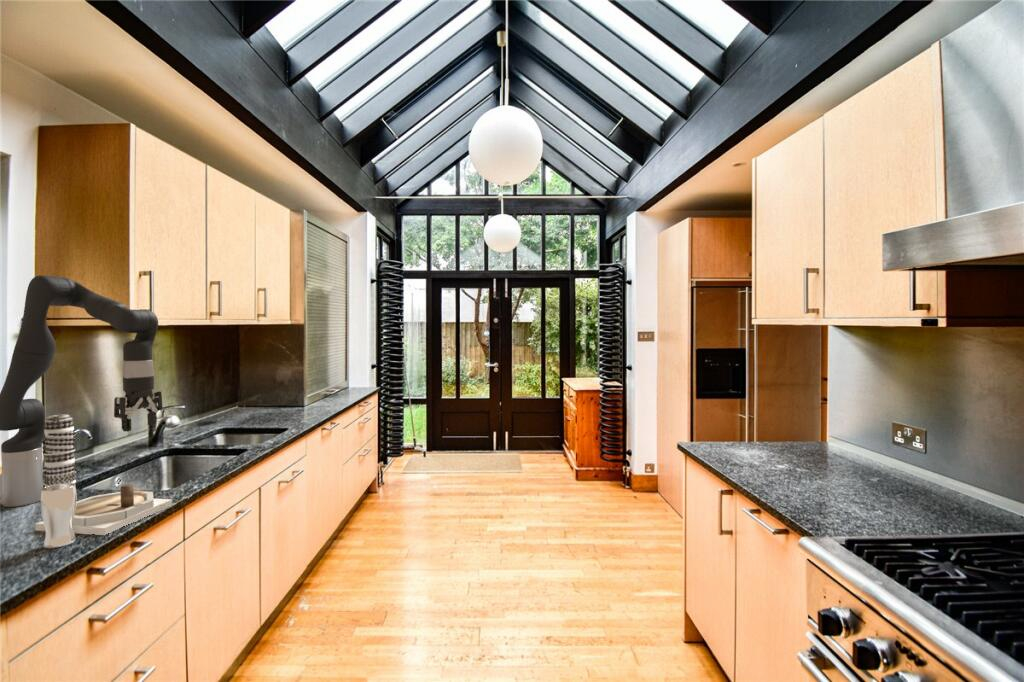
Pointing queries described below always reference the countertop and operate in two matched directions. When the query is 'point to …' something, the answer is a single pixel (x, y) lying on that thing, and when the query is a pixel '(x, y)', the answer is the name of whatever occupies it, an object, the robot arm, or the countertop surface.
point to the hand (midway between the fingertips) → (139, 428)
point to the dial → (110, 503)
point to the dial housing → (115, 515)
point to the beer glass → (58, 514)
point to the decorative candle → (59, 450)
